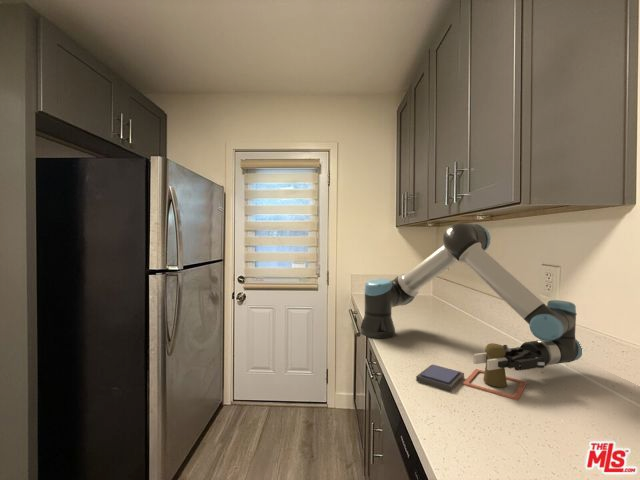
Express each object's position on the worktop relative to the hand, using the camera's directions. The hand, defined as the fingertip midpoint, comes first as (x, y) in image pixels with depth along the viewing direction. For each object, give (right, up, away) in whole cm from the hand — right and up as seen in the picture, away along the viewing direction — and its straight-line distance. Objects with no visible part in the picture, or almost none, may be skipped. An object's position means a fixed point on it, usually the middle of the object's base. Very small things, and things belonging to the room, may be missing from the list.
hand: (481, 362), depth 95 cm
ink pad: (-10, -7, +4) cm, 13 cm away
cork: (+5, -7, +2) cm, 9 cm away
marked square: (+5, -7, +2) cm, 9 cm away
